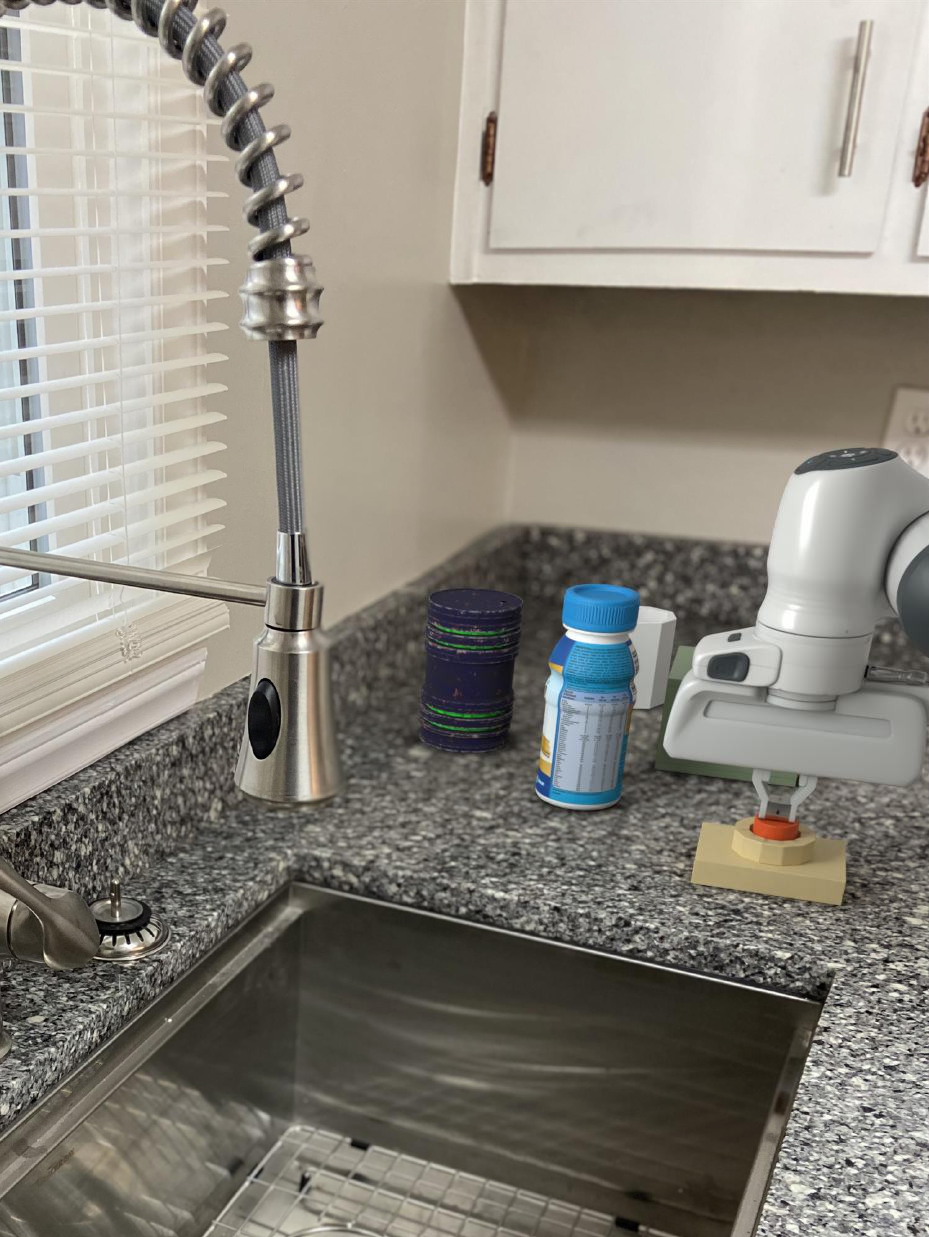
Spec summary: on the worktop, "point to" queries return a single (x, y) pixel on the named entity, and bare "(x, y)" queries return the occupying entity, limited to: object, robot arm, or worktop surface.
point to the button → (775, 829)
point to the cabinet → (697, 767)
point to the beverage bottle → (589, 699)
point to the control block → (771, 863)
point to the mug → (653, 654)
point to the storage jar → (469, 669)
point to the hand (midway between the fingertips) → (776, 818)
